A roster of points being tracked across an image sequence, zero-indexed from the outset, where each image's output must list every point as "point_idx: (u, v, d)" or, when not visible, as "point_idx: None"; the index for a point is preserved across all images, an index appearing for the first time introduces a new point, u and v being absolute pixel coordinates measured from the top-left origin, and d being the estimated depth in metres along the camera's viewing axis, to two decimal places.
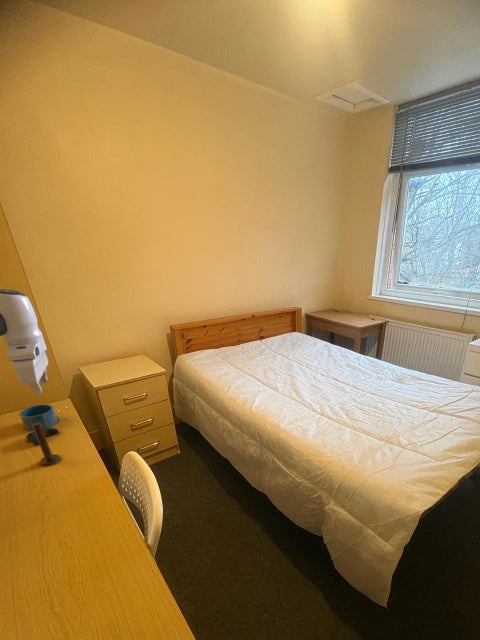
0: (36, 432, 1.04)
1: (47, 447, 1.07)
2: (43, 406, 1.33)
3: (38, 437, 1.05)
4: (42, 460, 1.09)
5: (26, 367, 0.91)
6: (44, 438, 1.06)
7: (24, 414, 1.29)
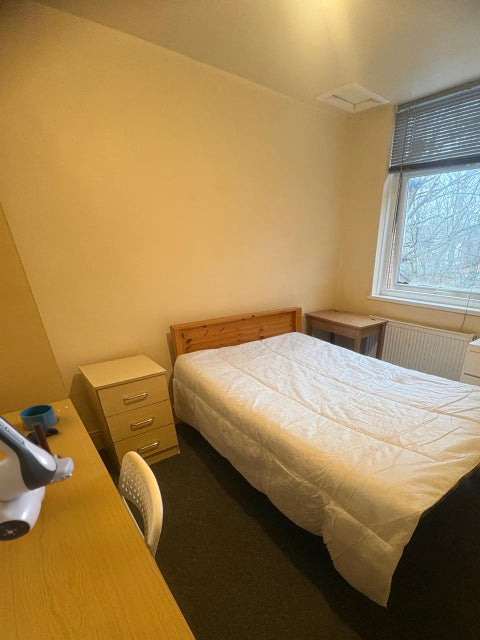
0: (36, 432, 1.04)
1: (47, 447, 1.07)
2: (43, 406, 1.33)
3: (38, 437, 1.05)
4: None
5: None
6: (44, 438, 1.06)
7: (24, 414, 1.29)
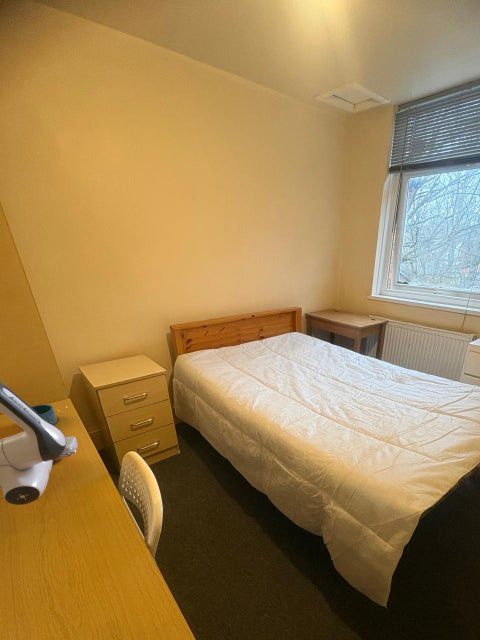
0: None
1: None
2: (43, 406, 1.33)
3: None
4: None
5: None
6: None
7: None
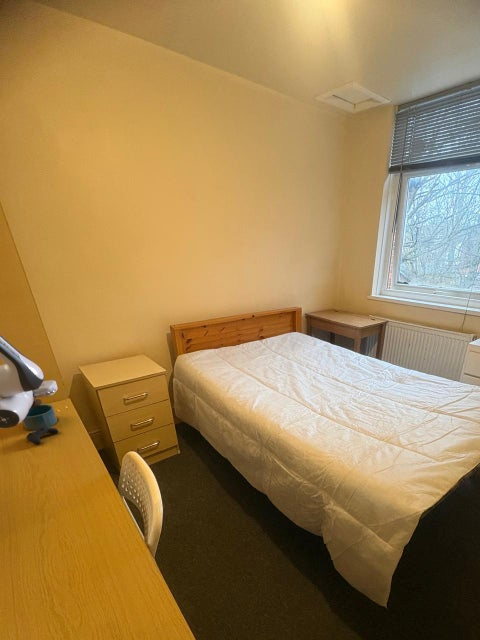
0: None
1: None
2: (43, 406, 1.33)
3: None
4: None
5: None
6: None
7: None
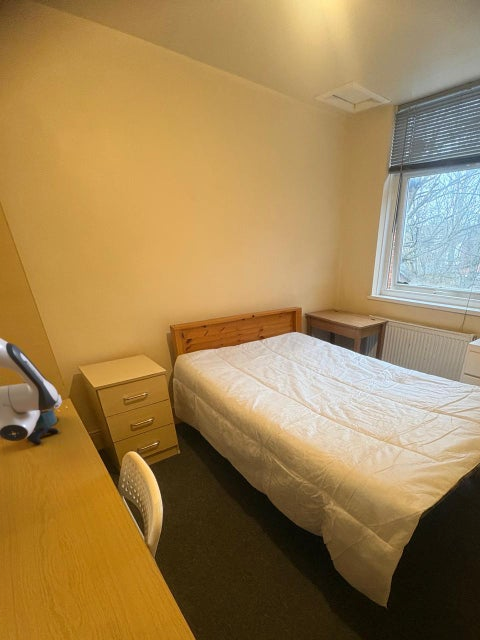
0: None
1: None
2: None
3: None
4: None
5: None
6: None
7: None
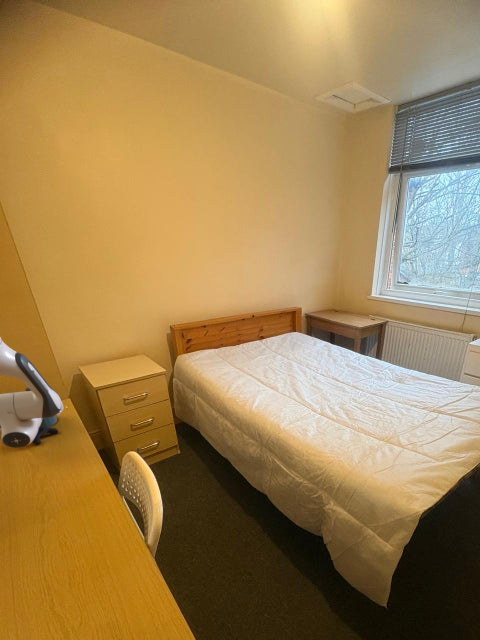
0: None
1: None
2: None
3: None
4: None
5: None
6: None
7: None
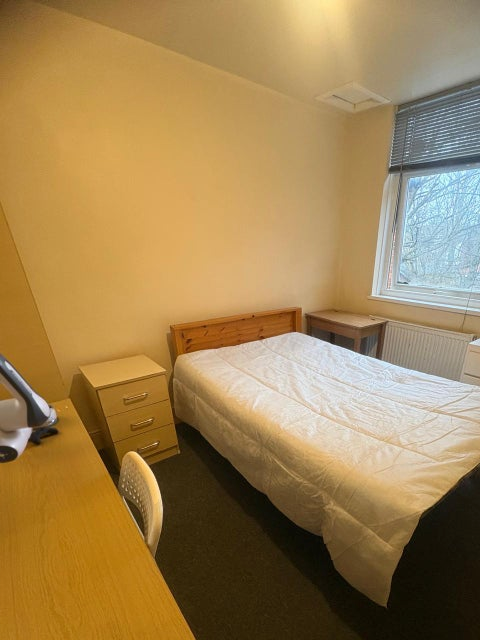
0: None
1: None
2: None
3: None
4: None
5: None
6: None
7: None
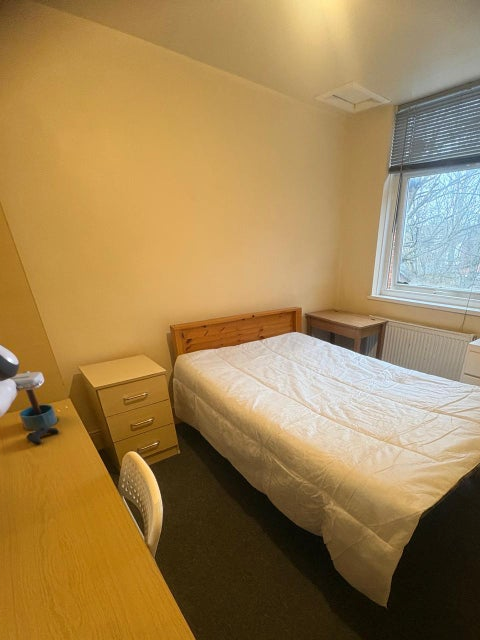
0: (29, 395, 1.25)
1: (38, 409, 1.28)
2: (43, 406, 1.33)
3: (30, 400, 1.26)
4: None
5: None
6: (36, 401, 1.27)
7: (24, 414, 1.29)
